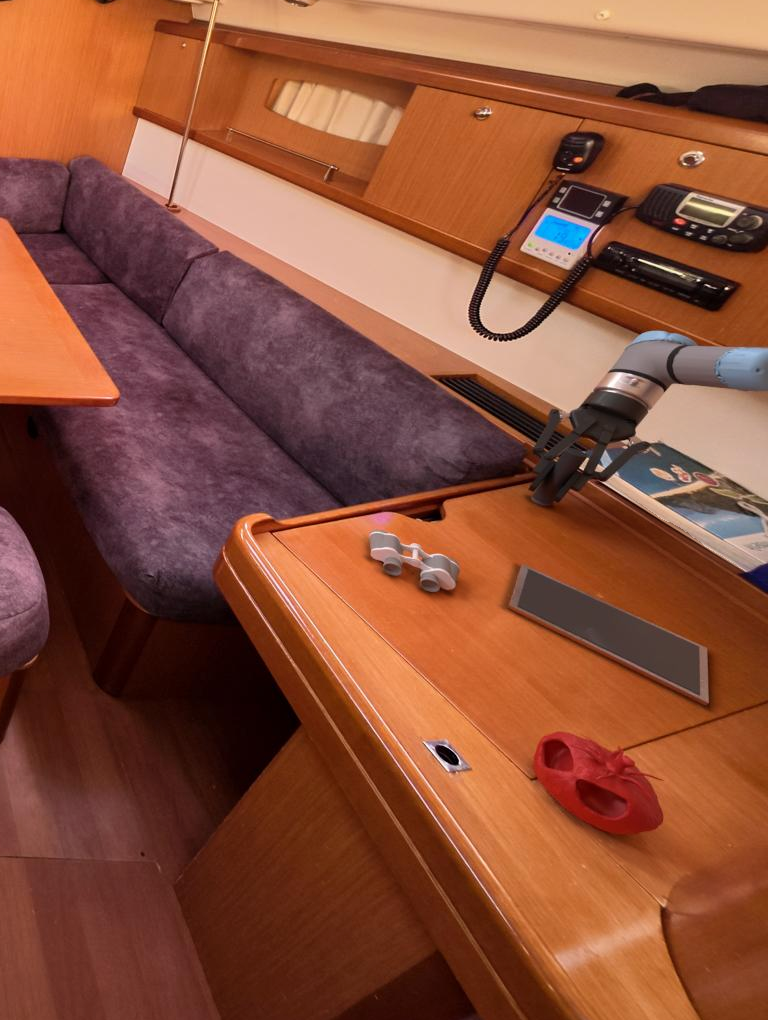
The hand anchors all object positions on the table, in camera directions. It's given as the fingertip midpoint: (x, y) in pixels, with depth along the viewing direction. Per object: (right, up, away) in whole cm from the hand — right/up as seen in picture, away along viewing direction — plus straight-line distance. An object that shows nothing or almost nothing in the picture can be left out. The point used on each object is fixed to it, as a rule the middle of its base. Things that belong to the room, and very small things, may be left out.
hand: (544, 494), depth 120 cm
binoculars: (-39, -10, -12) cm, 42 cm away
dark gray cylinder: (+3, -3, +3) cm, 5 cm away
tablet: (-18, -15, -22) cm, 32 cm away
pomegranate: (-48, -26, -44) cm, 70 cm away
